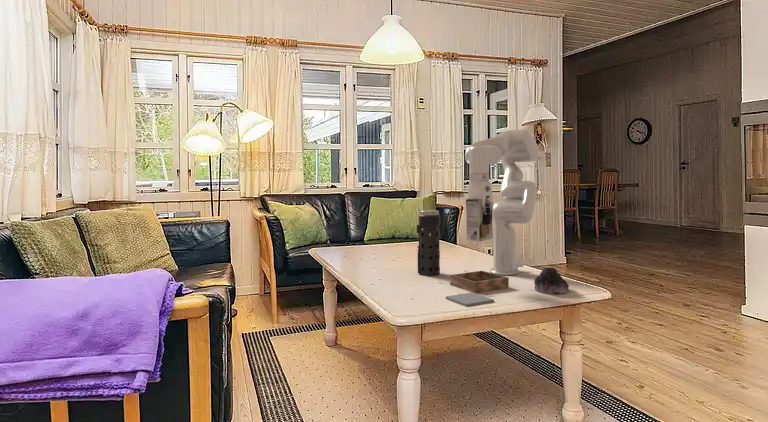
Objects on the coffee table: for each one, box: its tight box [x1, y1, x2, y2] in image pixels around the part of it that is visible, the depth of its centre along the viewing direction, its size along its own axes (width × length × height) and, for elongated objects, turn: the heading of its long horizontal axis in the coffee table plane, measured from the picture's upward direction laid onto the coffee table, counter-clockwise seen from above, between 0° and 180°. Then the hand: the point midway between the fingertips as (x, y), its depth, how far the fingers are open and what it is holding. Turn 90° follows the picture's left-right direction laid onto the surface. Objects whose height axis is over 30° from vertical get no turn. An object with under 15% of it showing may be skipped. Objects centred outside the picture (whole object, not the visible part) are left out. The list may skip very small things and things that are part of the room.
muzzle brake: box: [416, 209, 441, 277], centre depth 222 cm, size 10×28×10 cm
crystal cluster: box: [533, 267, 570, 295], centre depth 190 cm, size 13×14×10 cm
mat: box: [445, 292, 495, 307], centre depth 177 cm, size 12×12×1 cm
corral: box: [449, 270, 510, 294], centre depth 198 cm, size 16×16×4 cm
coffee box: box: [465, 198, 494, 243], centre depth 196 cm, size 9×6×16 cm
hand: (479, 223), depth 196 cm, fingers closed on coffee box, 7 cm apart
